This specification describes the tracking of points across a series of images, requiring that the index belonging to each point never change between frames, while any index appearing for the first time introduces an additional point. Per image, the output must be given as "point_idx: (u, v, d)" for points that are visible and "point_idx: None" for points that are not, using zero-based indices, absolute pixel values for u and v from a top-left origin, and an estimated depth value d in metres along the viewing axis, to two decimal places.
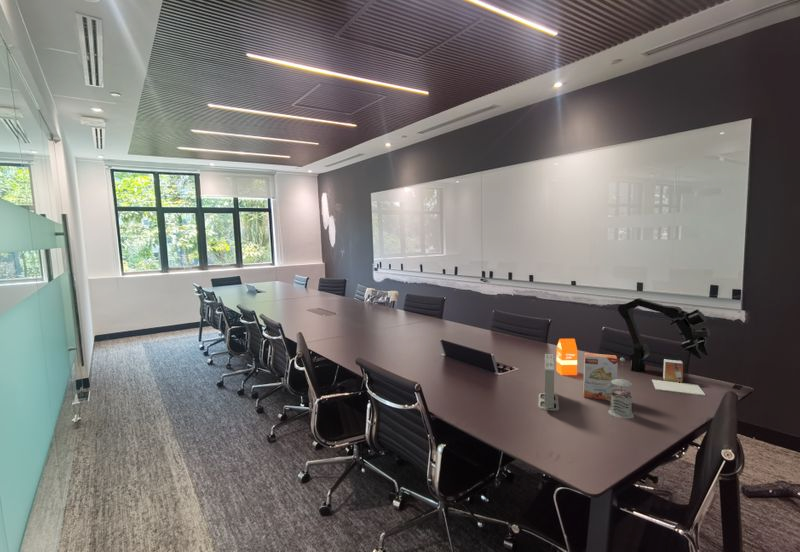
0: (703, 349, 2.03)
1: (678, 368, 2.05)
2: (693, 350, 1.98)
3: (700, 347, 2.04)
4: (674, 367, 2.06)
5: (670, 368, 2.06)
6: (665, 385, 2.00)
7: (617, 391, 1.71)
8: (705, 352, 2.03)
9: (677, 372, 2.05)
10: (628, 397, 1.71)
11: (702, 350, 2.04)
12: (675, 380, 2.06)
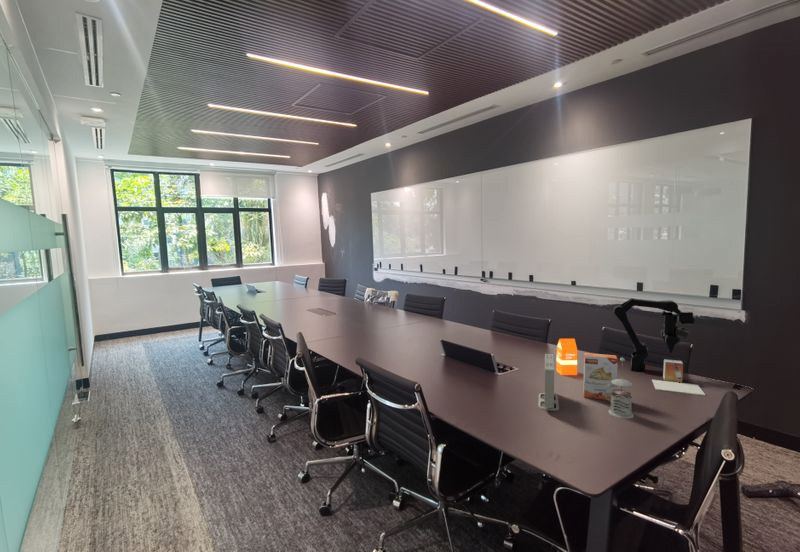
0: None
1: (678, 368, 2.05)
2: (670, 344, 2.13)
3: None
4: (674, 367, 2.06)
5: (670, 368, 2.06)
6: (665, 385, 2.00)
7: (617, 391, 1.71)
8: None
9: (677, 372, 2.05)
10: (628, 397, 1.71)
11: None
12: (675, 380, 2.06)
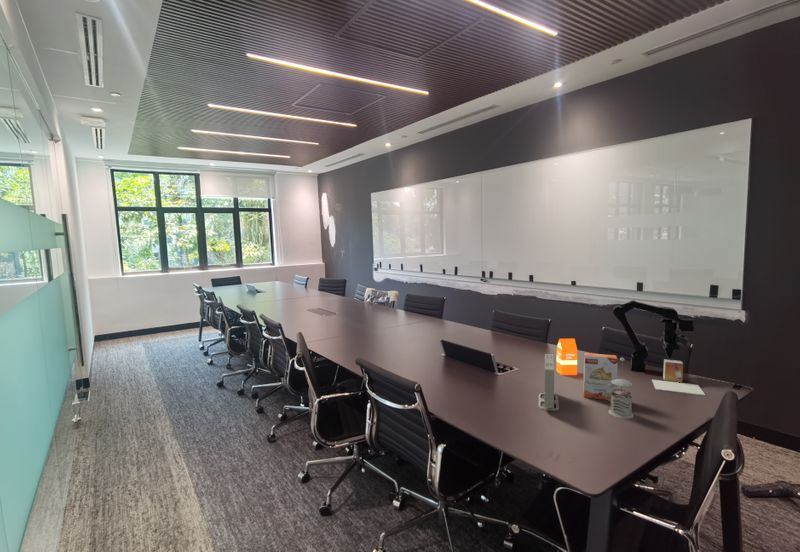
0: None
1: (678, 368, 2.05)
2: (669, 350, 2.17)
3: None
4: (674, 367, 2.06)
5: (670, 368, 2.06)
6: (665, 385, 2.00)
7: (617, 391, 1.71)
8: None
9: (677, 372, 2.05)
10: (628, 397, 1.71)
11: None
12: (675, 380, 2.06)
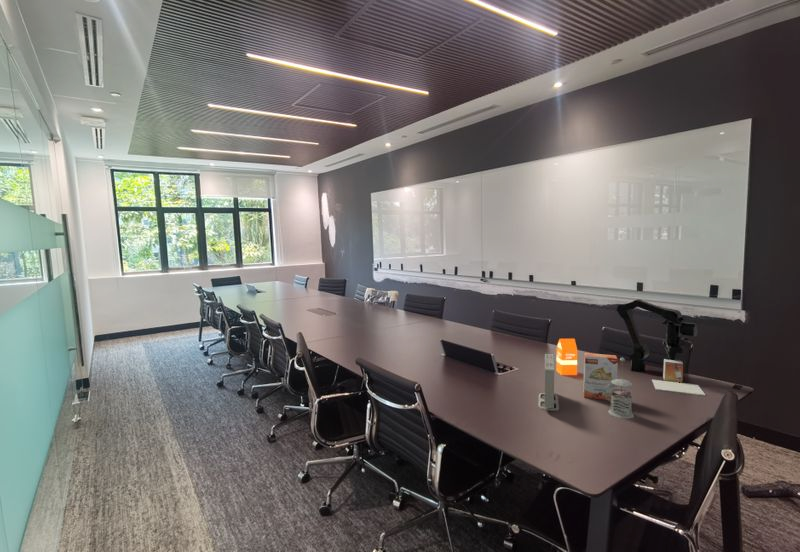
0: None
1: (678, 368, 2.05)
2: (672, 353, 2.10)
3: (670, 353, 2.12)
4: (674, 367, 2.06)
5: (670, 368, 2.06)
6: (665, 385, 2.00)
7: (617, 391, 1.71)
8: None
9: (677, 372, 2.05)
10: (628, 397, 1.71)
11: None
12: (675, 380, 2.06)
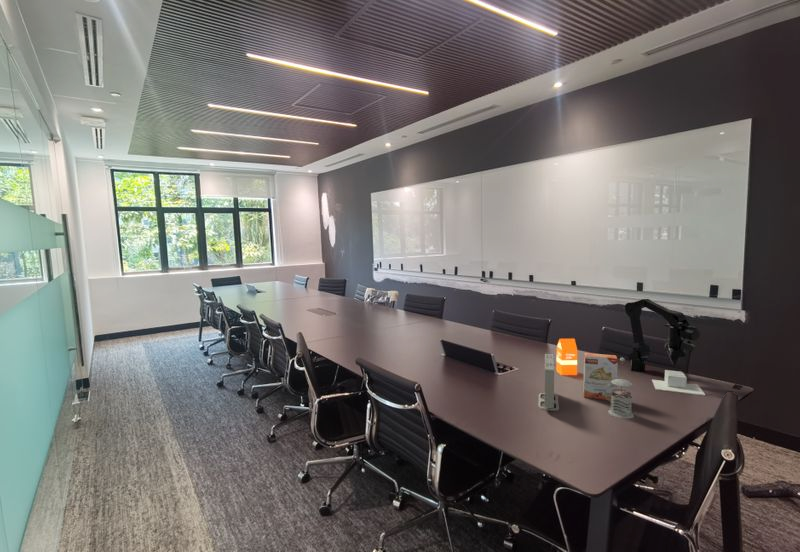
0: None
1: None
2: (674, 357, 2.04)
3: None
4: None
5: None
6: (665, 385, 2.00)
7: (617, 391, 1.71)
8: None
9: None
10: (628, 397, 1.71)
11: None
12: None
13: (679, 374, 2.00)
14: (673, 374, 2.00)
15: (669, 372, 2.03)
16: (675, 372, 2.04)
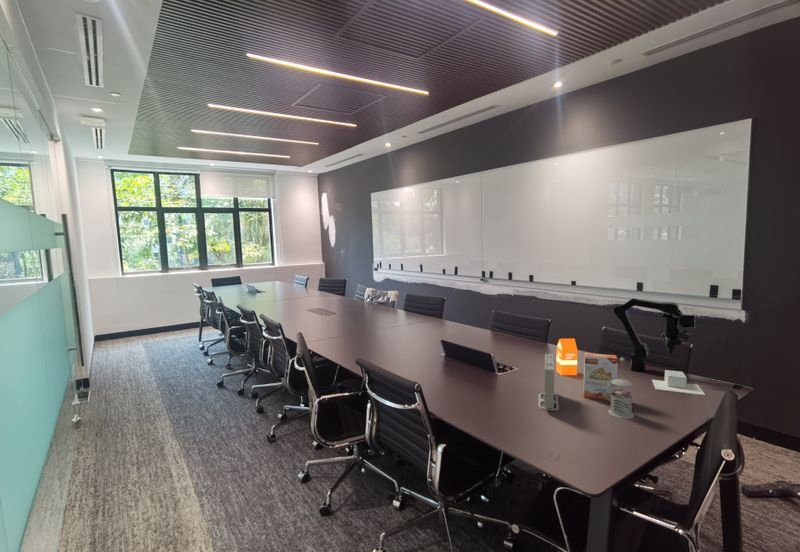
0: None
1: None
2: (670, 345, 2.13)
3: None
4: None
5: None
6: (665, 385, 2.00)
7: (617, 391, 1.71)
8: None
9: None
10: (628, 397, 1.71)
11: None
12: None
13: (679, 374, 2.00)
14: (673, 374, 2.00)
15: (669, 372, 2.03)
16: (675, 372, 2.04)
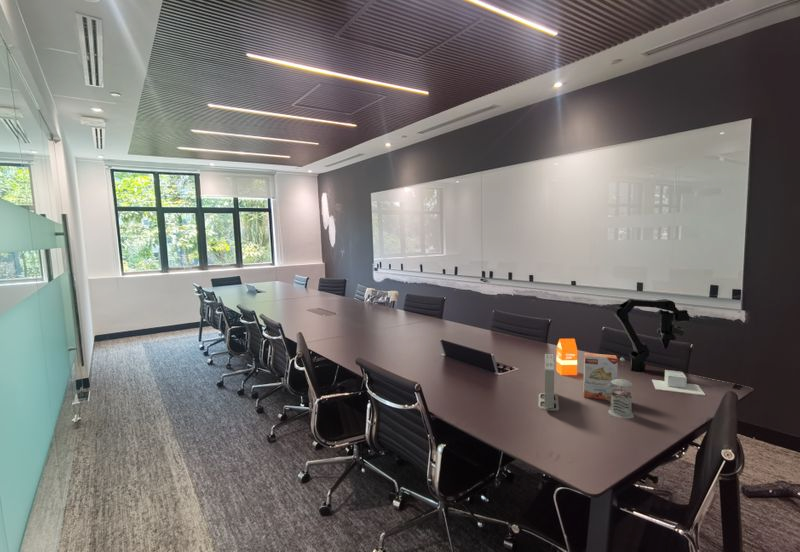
0: None
1: None
2: (665, 340, 2.21)
3: None
4: None
5: None
6: (665, 385, 2.00)
7: (617, 391, 1.71)
8: None
9: None
10: (628, 397, 1.71)
11: None
12: None
13: (679, 374, 2.00)
14: (673, 374, 2.00)
15: (669, 372, 2.03)
16: (675, 372, 2.04)
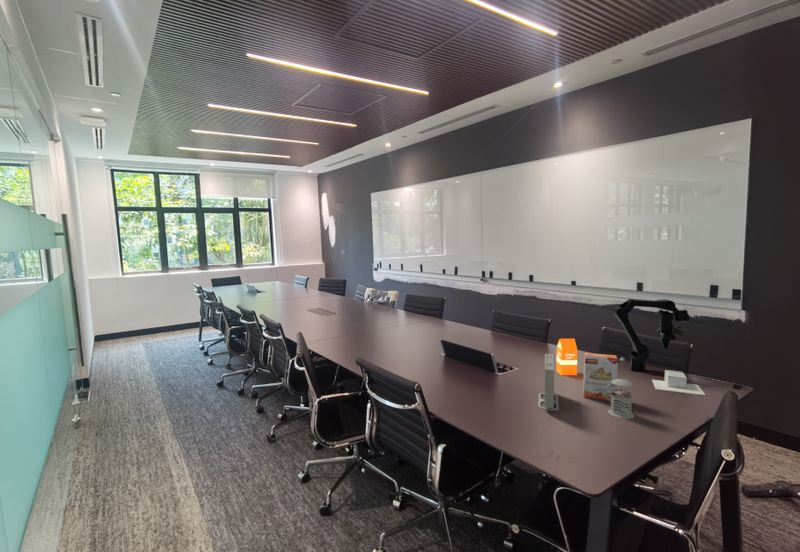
0: None
1: None
2: (665, 340, 2.21)
3: None
4: None
5: None
6: (665, 385, 2.00)
7: (617, 391, 1.71)
8: None
9: None
10: (628, 397, 1.71)
11: None
12: None
13: (679, 374, 2.00)
14: (673, 374, 2.00)
15: (669, 372, 2.03)
16: (675, 372, 2.04)
